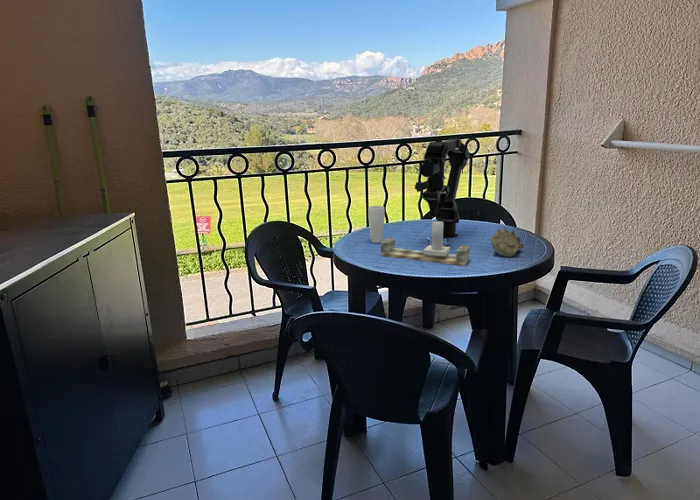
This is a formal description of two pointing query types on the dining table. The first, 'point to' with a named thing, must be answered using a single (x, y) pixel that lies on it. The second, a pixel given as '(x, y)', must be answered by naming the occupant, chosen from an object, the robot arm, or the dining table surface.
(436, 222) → the carriage
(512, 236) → the seashell
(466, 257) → the wooden slide rail
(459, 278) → the dining table surface
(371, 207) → the drinking glass
